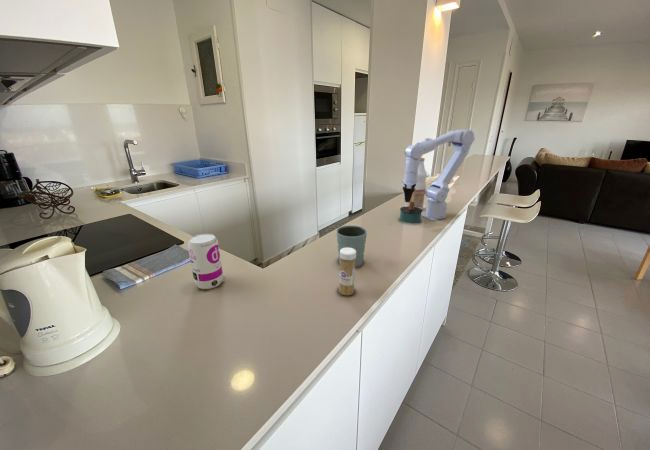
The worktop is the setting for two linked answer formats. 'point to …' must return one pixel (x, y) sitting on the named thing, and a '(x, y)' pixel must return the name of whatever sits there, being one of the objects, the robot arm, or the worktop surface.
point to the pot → (410, 217)
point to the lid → (411, 209)
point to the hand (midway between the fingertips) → (407, 199)
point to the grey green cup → (352, 241)
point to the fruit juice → (419, 186)
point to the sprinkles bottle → (347, 271)
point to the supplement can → (205, 261)
